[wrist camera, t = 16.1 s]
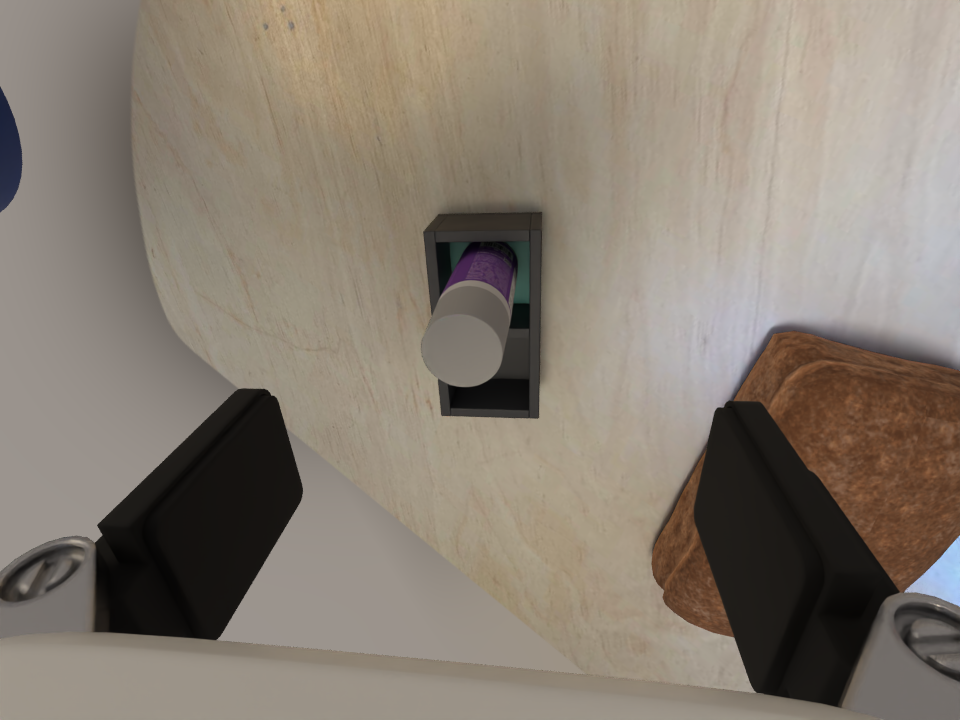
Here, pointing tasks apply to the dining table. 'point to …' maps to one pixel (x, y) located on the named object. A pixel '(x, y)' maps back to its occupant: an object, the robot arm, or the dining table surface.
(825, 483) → the bread
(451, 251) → the dark grey divided box
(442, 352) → the container
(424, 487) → the dining table surface
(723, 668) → the dining table surface
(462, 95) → the dining table surface
